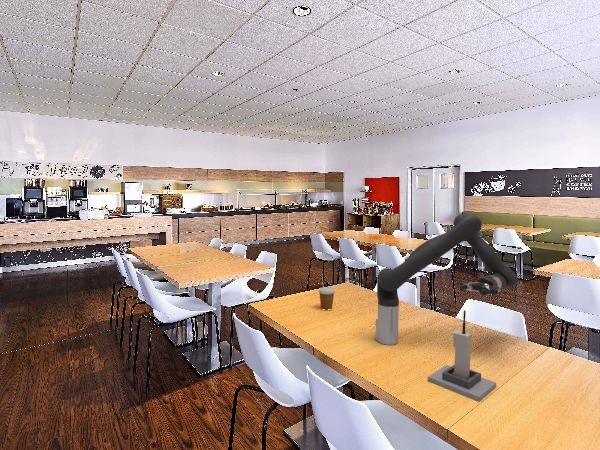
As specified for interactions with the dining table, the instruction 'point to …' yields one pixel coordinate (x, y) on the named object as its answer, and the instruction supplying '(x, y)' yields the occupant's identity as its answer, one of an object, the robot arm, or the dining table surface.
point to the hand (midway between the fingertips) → (471, 290)
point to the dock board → (463, 383)
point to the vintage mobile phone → (462, 352)
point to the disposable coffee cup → (326, 297)
